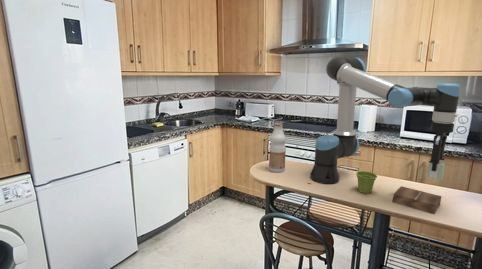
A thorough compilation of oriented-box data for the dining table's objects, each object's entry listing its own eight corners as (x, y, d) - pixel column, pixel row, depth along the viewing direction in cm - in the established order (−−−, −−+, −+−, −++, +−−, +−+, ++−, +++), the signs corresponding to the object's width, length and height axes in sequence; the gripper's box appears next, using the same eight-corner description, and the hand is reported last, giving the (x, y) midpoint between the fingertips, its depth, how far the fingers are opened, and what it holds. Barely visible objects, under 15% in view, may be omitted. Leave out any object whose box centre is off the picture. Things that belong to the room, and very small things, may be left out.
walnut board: (392, 201, 127) (393, 193, 126) (400, 193, 135) (401, 186, 134) (434, 214, 116) (436, 205, 115) (440, 204, 125) (441, 196, 124)
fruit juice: (272, 173, 162) (273, 125, 156) (266, 168, 170) (267, 122, 164) (287, 172, 164) (289, 124, 158) (281, 167, 173) (282, 122, 167)
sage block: (426, 177, 119) (428, 163, 118) (429, 174, 123) (431, 161, 121) (441, 180, 116) (443, 166, 114) (443, 177, 119) (445, 163, 118)
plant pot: (372, 188, 142) (374, 171, 140) (377, 196, 133) (379, 178, 131) (353, 186, 144) (354, 170, 142) (356, 194, 135) (357, 176, 133)
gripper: (450, 126, 105) (440, 184, 110) (457, 120, 118) (448, 173, 123) (427, 123, 110) (418, 179, 115) (436, 118, 123) (428, 169, 128)
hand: (434, 176), depth 119 cm, fingers closed on sage block, 5 cm apart
